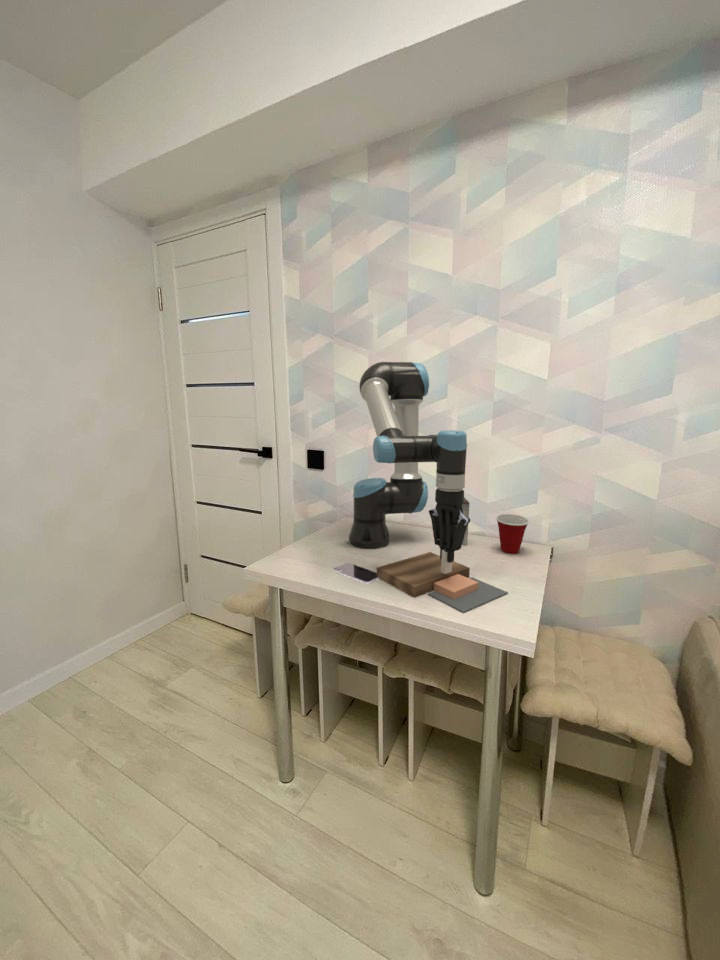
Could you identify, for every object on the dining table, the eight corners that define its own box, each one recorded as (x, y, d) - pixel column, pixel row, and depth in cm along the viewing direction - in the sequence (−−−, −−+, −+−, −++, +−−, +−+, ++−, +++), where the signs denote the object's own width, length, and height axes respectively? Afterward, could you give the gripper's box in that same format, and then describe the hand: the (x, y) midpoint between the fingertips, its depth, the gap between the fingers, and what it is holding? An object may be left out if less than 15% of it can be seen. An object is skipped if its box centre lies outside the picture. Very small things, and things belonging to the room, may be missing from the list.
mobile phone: (367, 582, 114) (330, 568, 124) (367, 585, 114) (330, 571, 124) (384, 574, 120) (347, 561, 130) (384, 577, 120) (347, 564, 130)
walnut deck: (376, 577, 119) (376, 567, 119) (429, 560, 132) (430, 551, 131) (414, 597, 107) (414, 586, 106) (469, 577, 119) (469, 567, 119)
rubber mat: (427, 594, 108) (427, 593, 108) (471, 578, 118) (471, 577, 118) (463, 613, 98) (463, 611, 98) (507, 593, 109) (508, 592, 109)
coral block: (433, 589, 110) (433, 582, 110) (457, 580, 116) (458, 573, 116) (453, 599, 105) (454, 592, 104) (478, 589, 111) (478, 582, 110)
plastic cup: (497, 556, 136) (500, 521, 134) (490, 545, 146) (492, 513, 144) (531, 557, 135) (534, 522, 133) (521, 546, 146) (523, 514, 143)
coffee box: (445, 537, 156) (447, 496, 153) (462, 537, 155) (464, 496, 153) (449, 545, 147) (451, 501, 144) (467, 545, 146) (470, 502, 144)
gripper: (422, 486, 112) (420, 567, 116) (459, 494, 101) (455, 583, 105) (441, 483, 116) (438, 561, 120) (478, 491, 105) (474, 576, 110)
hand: (446, 571), depth 113 cm, fingers closed
